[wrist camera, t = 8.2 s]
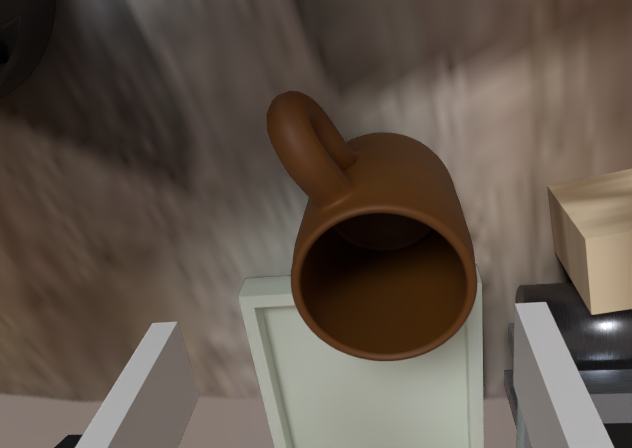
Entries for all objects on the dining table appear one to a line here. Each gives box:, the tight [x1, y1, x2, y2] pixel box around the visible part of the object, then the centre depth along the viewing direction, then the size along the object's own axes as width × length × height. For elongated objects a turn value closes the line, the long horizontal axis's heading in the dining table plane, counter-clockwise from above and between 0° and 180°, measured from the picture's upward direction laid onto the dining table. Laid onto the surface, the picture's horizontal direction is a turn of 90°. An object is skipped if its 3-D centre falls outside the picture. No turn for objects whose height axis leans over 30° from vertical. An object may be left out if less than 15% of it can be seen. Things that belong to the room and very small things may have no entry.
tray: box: [238, 263, 484, 448], centre depth 35 cm, size 14×17×2 cm
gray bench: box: [504, 282, 632, 448], centre depth 29 cm, size 11×9×7 cm
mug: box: [267, 91, 477, 361], centre depth 25 cm, size 12×8×9 cm, turn 32°
